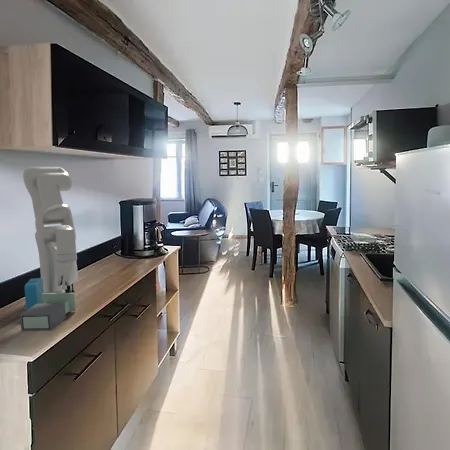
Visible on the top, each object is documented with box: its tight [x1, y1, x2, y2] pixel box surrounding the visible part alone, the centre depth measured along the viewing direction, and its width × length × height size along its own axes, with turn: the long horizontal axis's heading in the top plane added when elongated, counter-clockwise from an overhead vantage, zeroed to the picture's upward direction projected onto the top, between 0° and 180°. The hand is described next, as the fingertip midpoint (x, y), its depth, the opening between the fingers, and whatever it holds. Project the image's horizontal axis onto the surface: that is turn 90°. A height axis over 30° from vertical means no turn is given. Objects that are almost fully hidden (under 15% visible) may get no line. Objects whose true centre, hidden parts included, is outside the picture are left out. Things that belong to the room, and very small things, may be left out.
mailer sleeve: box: [19, 303, 67, 332], centre depth 145 cm, size 12×11×6 cm
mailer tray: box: [23, 292, 77, 329], centre depth 149 cm, size 19×13×8 cm
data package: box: [24, 277, 44, 311], centre depth 162 cm, size 12×4×12 cm, turn 14°
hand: (70, 299), depth 164 cm, fingers closed
